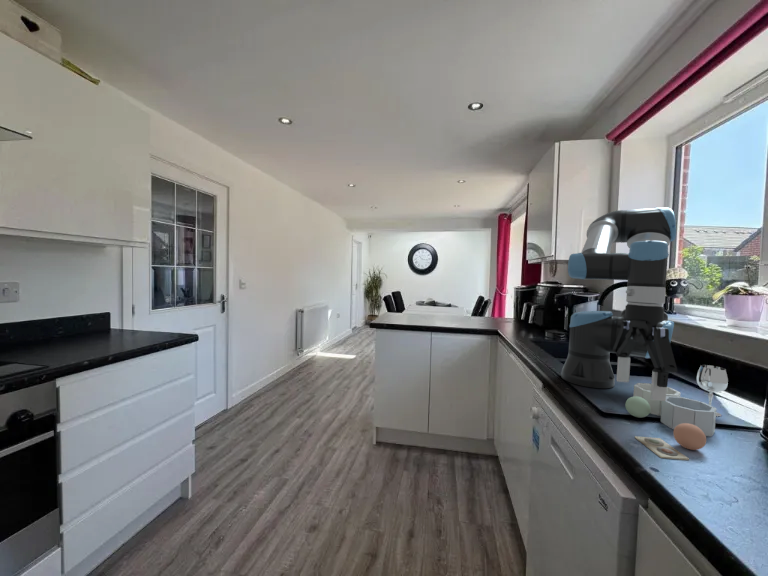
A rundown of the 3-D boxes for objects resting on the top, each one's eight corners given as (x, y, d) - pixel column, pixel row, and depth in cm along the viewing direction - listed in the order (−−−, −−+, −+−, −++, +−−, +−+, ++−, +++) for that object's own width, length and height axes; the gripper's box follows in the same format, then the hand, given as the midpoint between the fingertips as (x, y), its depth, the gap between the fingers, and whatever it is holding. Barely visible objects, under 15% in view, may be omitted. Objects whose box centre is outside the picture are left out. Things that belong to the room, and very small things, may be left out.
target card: (634, 437, 73) (634, 435, 73) (659, 439, 72) (659, 437, 72) (660, 457, 65) (660, 455, 65) (689, 460, 65) (689, 457, 64)
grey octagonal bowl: (653, 417, 84) (654, 395, 84) (692, 419, 83) (694, 397, 83) (680, 434, 75) (682, 410, 75) (725, 437, 74) (727, 413, 74)
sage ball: (620, 411, 87) (621, 392, 87) (641, 413, 86) (642, 394, 86) (632, 420, 82) (633, 400, 82) (654, 421, 81) (656, 401, 81)
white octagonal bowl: (626, 401, 94) (628, 382, 94) (661, 403, 93) (663, 384, 93) (648, 415, 85) (649, 393, 85) (687, 417, 84) (688, 396, 84)
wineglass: (703, 407, 91) (706, 363, 91) (730, 416, 86) (734, 369, 85) (689, 409, 90) (692, 365, 89) (716, 418, 84) (719, 371, 83)
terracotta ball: (666, 441, 72) (668, 418, 72) (692, 443, 71) (693, 420, 71) (684, 453, 67) (686, 429, 67) (712, 455, 66) (714, 431, 66)
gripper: (601, 300, 95) (596, 374, 96) (664, 308, 71) (657, 408, 71) (629, 301, 95) (625, 376, 95) (703, 310, 70) (696, 411, 71)
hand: (638, 390), depth 83 cm, fingers open, 13 cm apart
